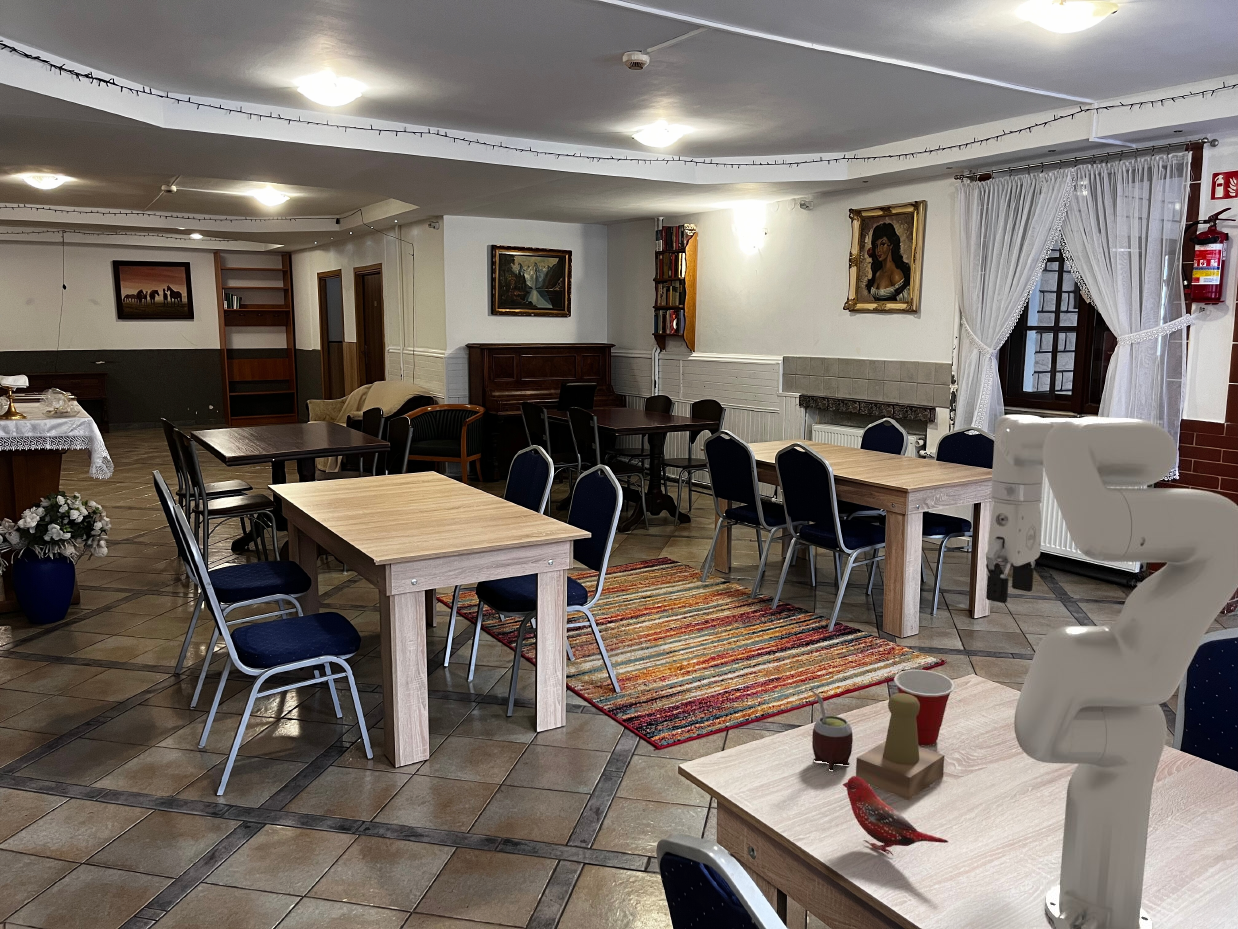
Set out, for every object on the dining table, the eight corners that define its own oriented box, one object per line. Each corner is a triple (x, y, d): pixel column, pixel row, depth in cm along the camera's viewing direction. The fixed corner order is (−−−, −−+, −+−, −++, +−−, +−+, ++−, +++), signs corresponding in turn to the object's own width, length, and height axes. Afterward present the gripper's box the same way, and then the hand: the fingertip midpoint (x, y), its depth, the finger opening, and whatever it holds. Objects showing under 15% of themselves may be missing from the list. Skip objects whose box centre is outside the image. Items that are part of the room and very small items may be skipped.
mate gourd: (851, 757, 168) (855, 678, 166) (851, 777, 160) (854, 694, 158) (809, 752, 170) (812, 674, 168) (807, 772, 162) (810, 690, 160)
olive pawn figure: (921, 766, 156) (924, 704, 154) (884, 762, 157) (887, 701, 156) (917, 751, 162) (921, 691, 160) (882, 747, 163) (885, 688, 161)
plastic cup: (890, 748, 172) (893, 686, 170) (891, 725, 182) (894, 667, 180) (952, 756, 169) (956, 693, 167) (949, 732, 179) (953, 673, 177)
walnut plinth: (908, 800, 152) (909, 777, 152) (855, 779, 160) (856, 757, 159) (943, 776, 161) (944, 755, 160) (891, 758, 168) (892, 737, 167)
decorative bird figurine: (846, 828, 143) (848, 768, 142) (951, 878, 130) (955, 812, 129) (834, 835, 142) (837, 774, 140) (941, 886, 128) (944, 819, 127)
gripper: (1017, 501, 139) (1010, 611, 142) (1061, 489, 151) (1053, 590, 154) (969, 495, 145) (963, 601, 147) (1015, 483, 157) (1008, 581, 159)
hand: (1009, 595), depth 150 cm, fingers open, 9 cm apart
